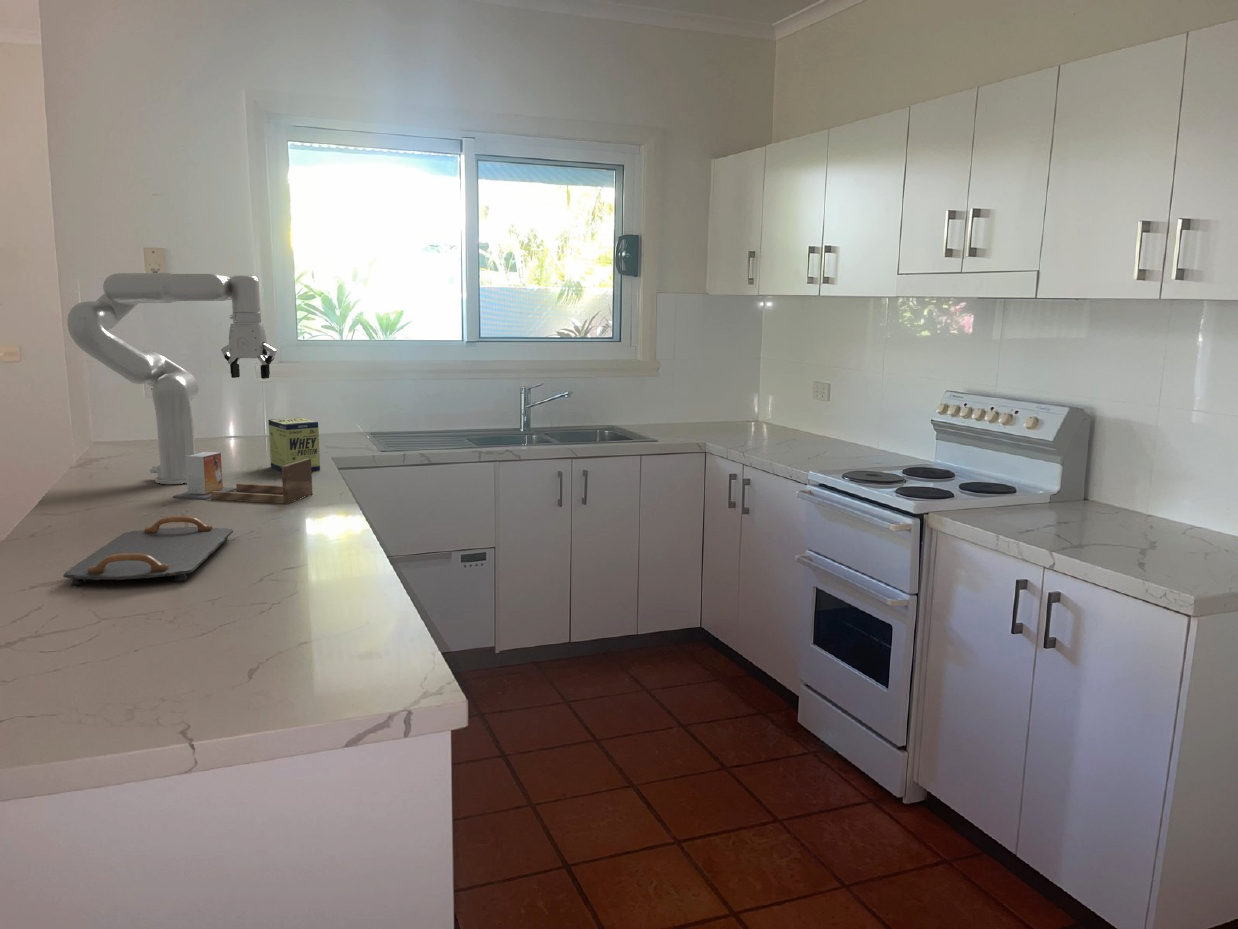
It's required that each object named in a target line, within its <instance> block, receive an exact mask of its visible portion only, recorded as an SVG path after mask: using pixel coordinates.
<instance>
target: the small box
mask: <svg viewBox="0 0 1238 929" xmlns="http://www.w3.org/2000/svg"><path fill="white" fill-rule="evenodd" d="M185 458H186V473H187V483H186V486H187V492H188V493H189V494H207V493H211V492H212V491H219V490H222V489H223V487H224V485H223V469H222V468H223V467H222V453H221V452H215V451H214V452H213V451H212V452H211V451H202V452H199V453H195V454H194V455H190V456H185Z"/></svg>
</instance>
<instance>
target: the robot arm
mask: <svg viewBox="0 0 1238 929" xmlns="http://www.w3.org/2000/svg"><path fill="white" fill-rule="evenodd" d="M102 289H103V292H104V293H102V295H100V296H99V298H97V299H96V300H95V301H92V300H91V301H81V302H78V303H76V304H74V305H73V306H72V307H71V309H69V311H68V314H67V320H66V321H67V322H66V323H67V325H66V326H67V330H68V333H69V335H70V338H71V339H72V340H73V342H74V343H75V345H77V347H78V348H80V350H82V351H83V352H84V353H86V354H87V355H89V356H90V357H92V358H93V359H96V360H97V361H98V362H99V363H101V364H103V365H104V366H105V367H107V368H109V369H110V370H112V371H114V372H115V373H117V374H118V375H120V376H121V377H123V378H125V380H127V381H128V382H131V383H133V384H135V385H144V384H146V385H149V386H150V387H151V388H152V391H151V392H152V393H151V394H152V401H153V406H154V411H155V417H156V418H155V419H156V428H157V429H156V430H157V443H158V454H159V456H158V457H159V465H153V466H152V467H151V468H150V471H149V472H150V473H151V474H157V477H155V480H154V481H155V483H157V484H159V483H160V485H181V484H183V483H185V484H187V473H186V458H185V456H190V455H194V454H196V447H195V432H194V431H195V430H194V420H193V411H192V408H191V401H192V400H194V399H195V398H196V397H197V395H198V393H199V390H200V388H199V383H198V381H197V379H196V377H195V376H194V375H192V374H191V373H190V372H189V371H187V370H186V369H184V368H182V367H181V366H180V365H178V364H177V363H175V362H173V361H172V360H170V359H168V358H167V357H166V356H164V355H162V354H160V353H158V352H155V351H153V350H147V349H146V350H139V349H137V348H136V347H134V346H132V345H130V344H129V343H127V342H126V341H124V340H123V339H121V338H120V337H118V336H117V335H114V334H112V333H110V332H109V330H111V329H113V328H114V327H116V326H117V325H118V324H120V322H121V321H123V319H124V318H125V317H127V316H128V315H129V314H130V313H131V312H132V310H134V309H135V308H136V307H137V306H138V305H139V304H172V303H177V302H192V301H193V302H203V301H204V302H224V301H231V304H232V305H231V306H232V314H230V315H229V319H230V320H232V323H230V327H229V331H228V332H229V333H228V344H226V345H225V346H224V347H222V348H221V350H220V351H221V353H222V355H223V356H224V357H223V358H224V359H225V360H226V361H227V363H228V365H229V366H230V367H229V368H230V370H229V371H230V376H231V378H232V379H233V378H234V379H236V378H240V377H241V374H240V372H241V371H240V363H238V362H239V361H240V359H258V360H259V362H260V363H261V364H260V378H261V379H262V380H265V379H269V378H270V375H271V372H270V365H271V364H272V362H273V361H274V360H275V356H276V354H277V352H278V350H277V349H276V348H274V347H272V346H270V345H269V344H268V342H267V336H266V330H265V327H264V324H263V323H262V317H261V316H262V314H261V296H260V295H261V294H260V281H259V278H258V277H256V276H253V275H233V276H229V275H223V274H216V273H169V272H117V273H112V274H109V275H108V276H107V277H106V278H105V279H104V281H103V284H102ZM183 485H184V484H183Z"/></svg>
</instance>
